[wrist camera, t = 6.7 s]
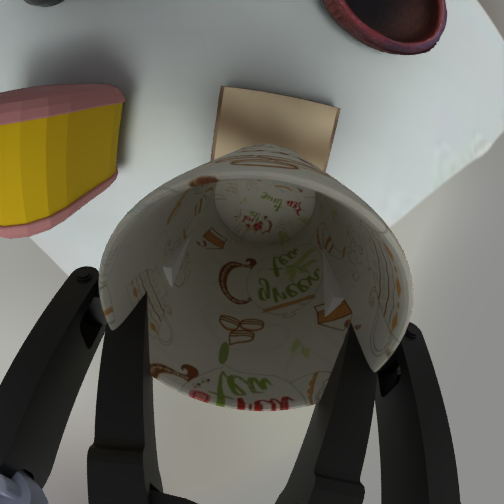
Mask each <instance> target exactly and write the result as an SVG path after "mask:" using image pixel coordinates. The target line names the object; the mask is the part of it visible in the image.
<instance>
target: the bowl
mask: <svg viewBox="0 0 504 504" xmlns="http://www.w3.org/2000/svg"><path fill="white" fill-rule="evenodd" d="M323 2H324V4H325V6H326V8H327V10H328V11H329V13H330V14H331V16H332V17H333V18H334V19H335V20H336V21H337V23H338V24H339V25H340V26H341V27H342V28H343V29H344V30H346V31H347V32H348V33H349V34H350V35H352V36H353V37H354V38H356V39H358V40H359V41H360V42H362V43H364V44H365V45H367V46H369V47H372V48H374V49H376V50H379V51H381V52H386V53H390V54H400V55H416V54H421V53H426V52H428V51H430V50H431V49H432V48H433V47H434V46H435V45H436V44H437V43H436V42H438V41H439V39H440V37H441V35H442V33H443V31H444V29H445V25H446V21H447V9H446V3H445V0H323Z"/></svg>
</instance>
